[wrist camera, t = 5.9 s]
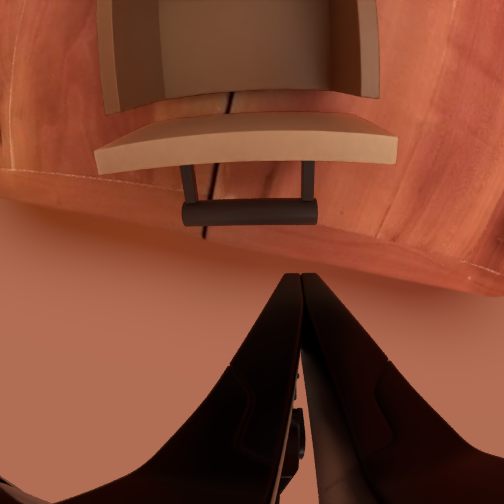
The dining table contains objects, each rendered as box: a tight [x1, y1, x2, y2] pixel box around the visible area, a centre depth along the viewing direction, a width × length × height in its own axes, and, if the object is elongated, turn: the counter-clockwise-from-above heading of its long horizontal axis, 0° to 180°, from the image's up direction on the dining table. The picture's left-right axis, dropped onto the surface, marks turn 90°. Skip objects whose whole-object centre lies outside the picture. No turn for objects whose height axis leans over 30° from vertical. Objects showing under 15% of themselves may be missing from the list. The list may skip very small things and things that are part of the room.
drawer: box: [94, 0, 398, 226], centre depth 10 cm, size 20×13×7 cm, turn 3°
